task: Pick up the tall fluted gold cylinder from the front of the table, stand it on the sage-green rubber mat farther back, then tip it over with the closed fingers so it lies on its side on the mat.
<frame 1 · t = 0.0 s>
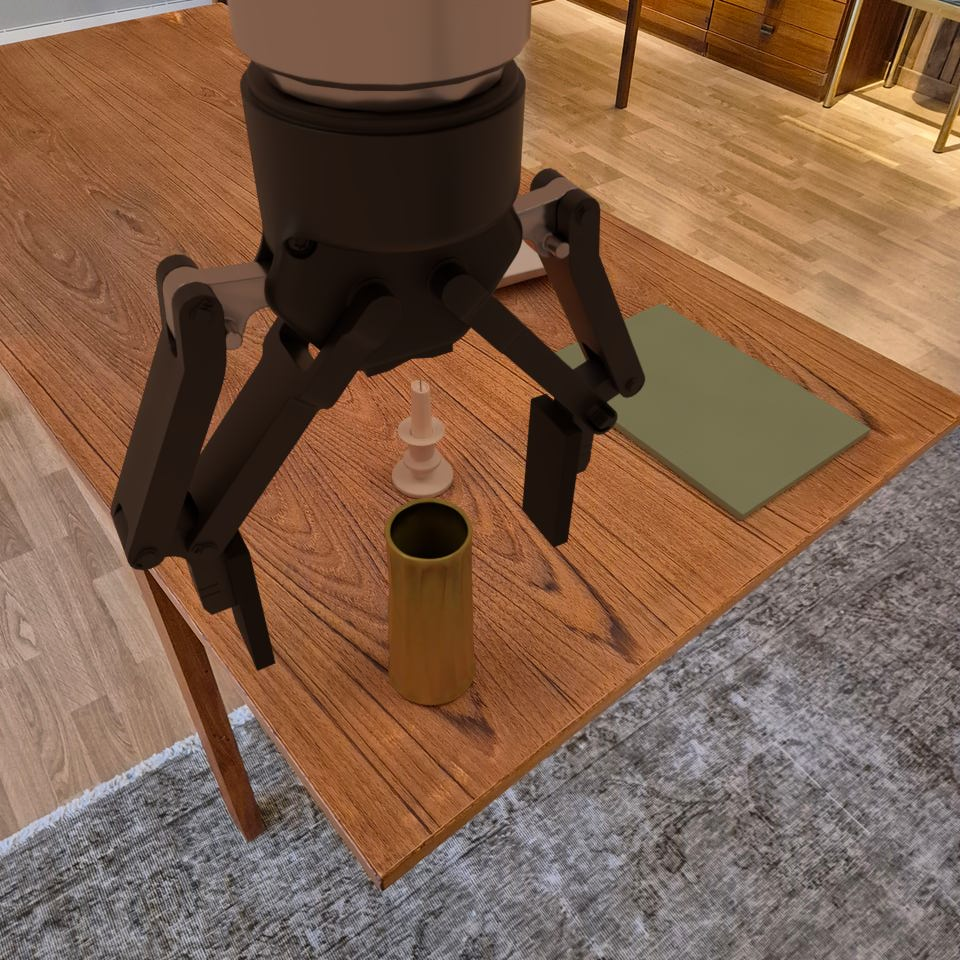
hand: (409, 580, 38), 23 cm above the table, tool pointing down, fingers open, 13 cm apart
mat: (694, 400, 84), on the table
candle: (422, 479, 76), on the table
apple: (301, 134, 127), on the table
fluted gold cylinder: (432, 670, 62), on the table
plate: (460, 259, 102), on the table
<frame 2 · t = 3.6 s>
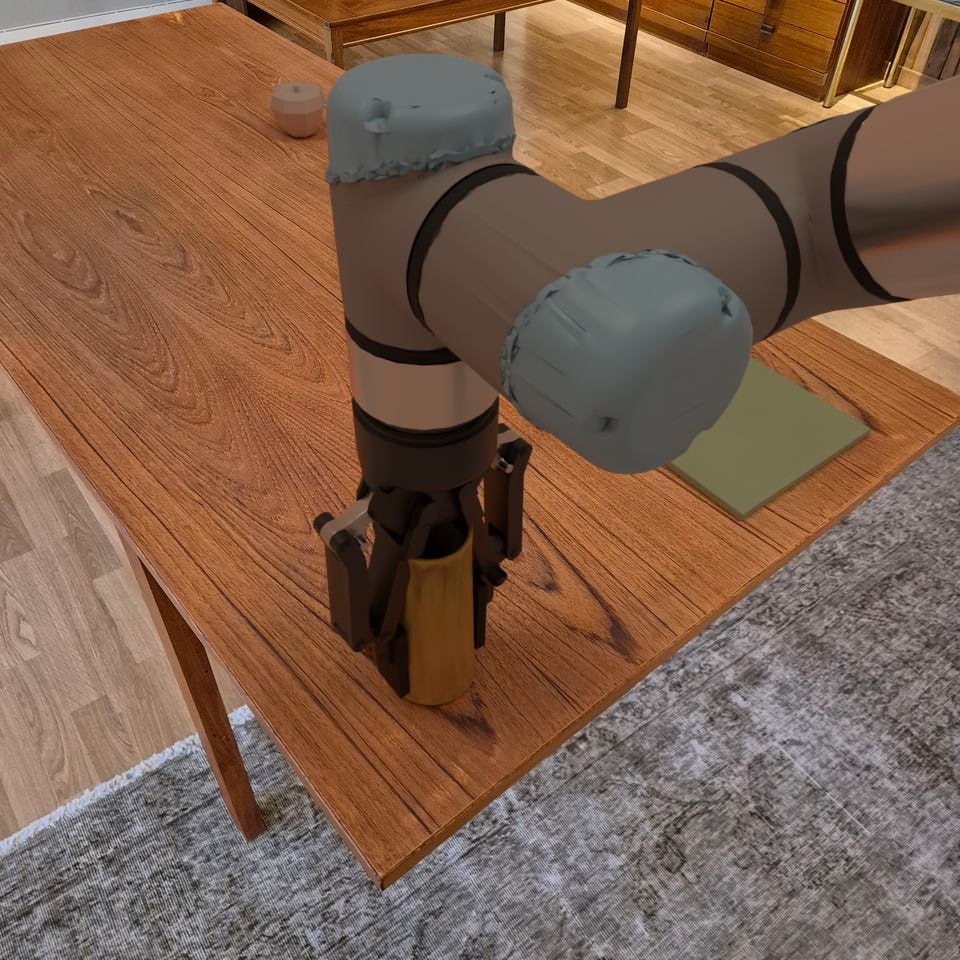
hand: (432, 657, 61), 1 cm above the table, tool pointing down, fingers closed on fluted gold cylinder, 6 cm apart
fluted gold cylinder: (432, 670, 62), on the table, touching gripper
everything else where it was.
when the fingers open (2 cm above the table, at t = 12.0 s): fluted gold cylinder stays where it is, resting on mat.
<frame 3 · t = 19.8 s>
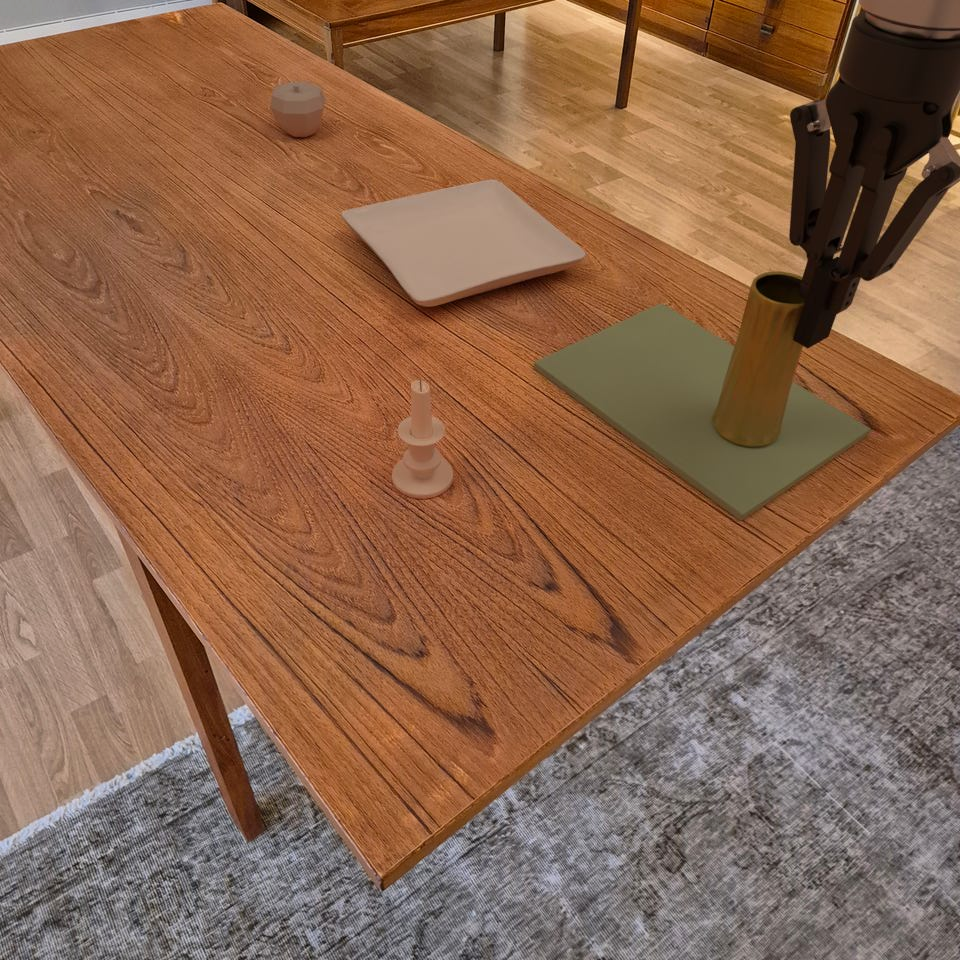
hand: (810, 338, 71), 12 cm above the table, tool pointing down, fingers closed
fluted gold cylinder: (745, 427, 81), point 1 cm above the table, touching gripper, mat
everything else where it was.
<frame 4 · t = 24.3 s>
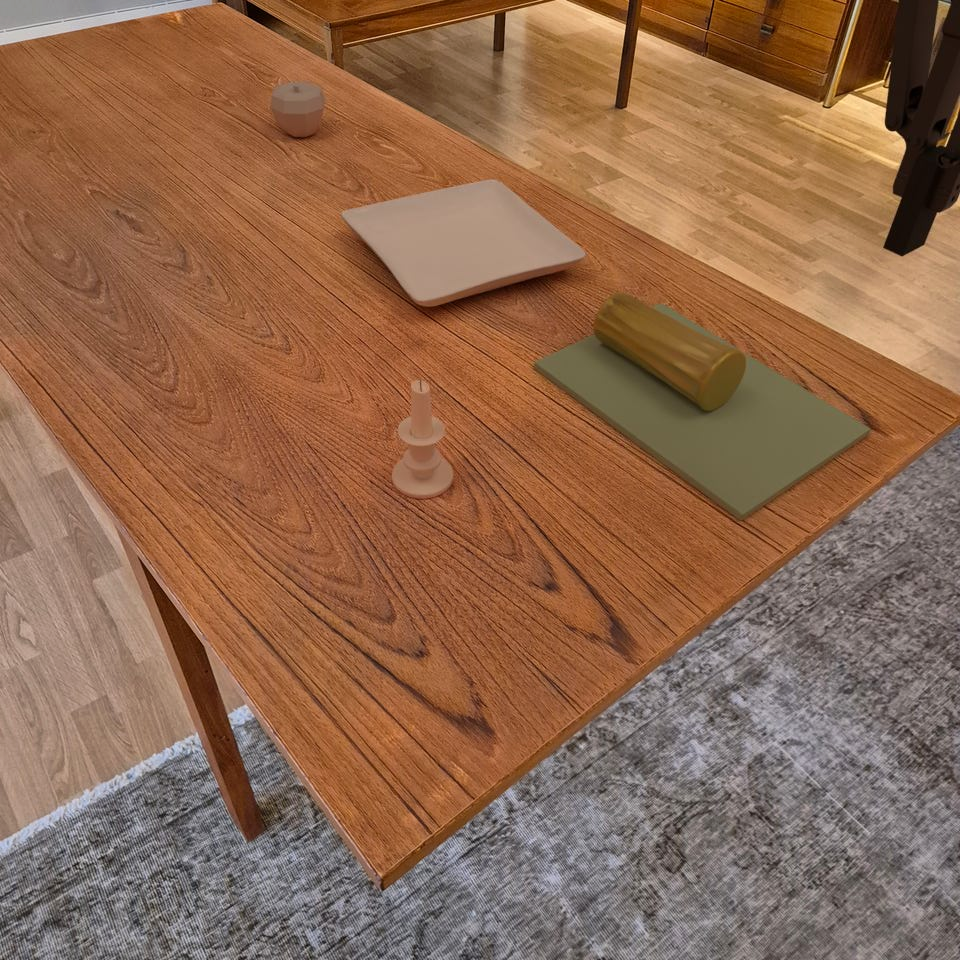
hand: (903, 246, 61), 22 cm above the table, tool pointing down, fingers closed
fluted gold cylinder: (727, 383, 80), point 4 cm above the table, touching mat
everything else where it was.
at the end: fluted gold cylinder tilted 92°; fluted gold cylinder inside the target area on the mat (2.9 cm from its centre), point 3.9 cm above the mat's base; fluted gold cylinder touching mat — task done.
